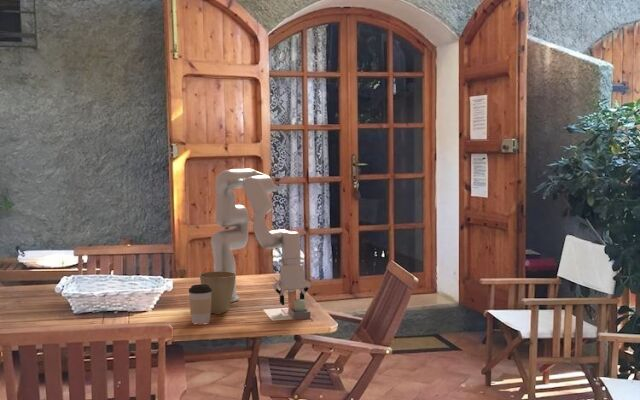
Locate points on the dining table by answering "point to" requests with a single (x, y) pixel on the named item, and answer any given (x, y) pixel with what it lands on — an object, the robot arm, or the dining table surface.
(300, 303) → the button
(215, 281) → the plant pot
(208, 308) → the coffee cup
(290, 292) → the marker
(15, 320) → the dining table surface
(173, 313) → the dining table surface
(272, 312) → the colouring board
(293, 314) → the button housing
